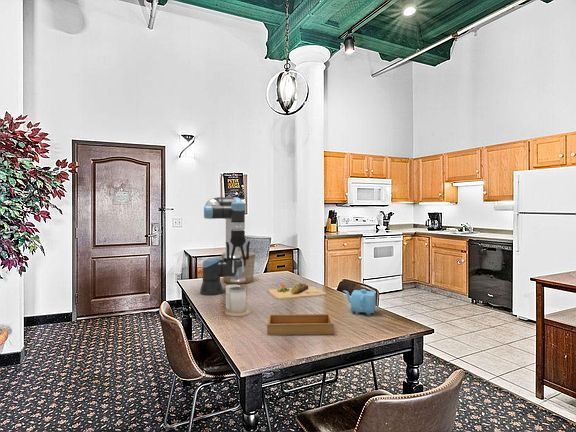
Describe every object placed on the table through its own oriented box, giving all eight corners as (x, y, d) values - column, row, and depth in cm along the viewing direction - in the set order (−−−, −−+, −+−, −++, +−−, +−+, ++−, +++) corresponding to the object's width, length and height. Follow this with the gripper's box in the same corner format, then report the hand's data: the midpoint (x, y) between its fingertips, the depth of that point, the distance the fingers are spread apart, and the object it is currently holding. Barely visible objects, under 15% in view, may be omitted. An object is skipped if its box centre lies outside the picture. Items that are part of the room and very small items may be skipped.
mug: (246, 304, 219) (246, 287, 219) (226, 306, 216) (226, 288, 216) (244, 301, 227) (244, 284, 227) (225, 302, 224) (225, 284, 224)
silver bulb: (229, 279, 206) (229, 259, 205) (244, 278, 208) (244, 259, 207) (230, 282, 197) (230, 262, 197) (246, 281, 199) (246, 261, 199)
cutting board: (277, 300, 231) (277, 289, 231) (266, 292, 253) (266, 281, 253) (327, 296, 243) (327, 285, 243) (313, 288, 265) (313, 278, 265)
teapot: (375, 309, 210) (376, 287, 210) (372, 317, 196) (373, 293, 195) (344, 306, 216) (344, 285, 216) (339, 314, 202) (339, 290, 201)
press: (224, 309, 208) (224, 286, 208) (248, 308, 212) (248, 285, 211) (226, 317, 195) (226, 292, 194) (252, 315, 198) (252, 290, 198)
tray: (267, 335, 169) (267, 323, 169) (268, 324, 184) (268, 313, 184) (333, 336, 169) (333, 323, 169) (329, 325, 184) (329, 314, 184)
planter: (222, 278, 296) (222, 251, 296) (254, 277, 299) (254, 251, 299) (220, 285, 271) (220, 256, 270) (255, 284, 273) (255, 255, 273)
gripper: (222, 230, 196) (222, 274, 196) (254, 230, 200) (254, 272, 201) (221, 229, 203) (221, 271, 204) (252, 229, 207) (252, 270, 208)
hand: (237, 272), depth 202 cm, fingers closed on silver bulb, 5 cm apart
